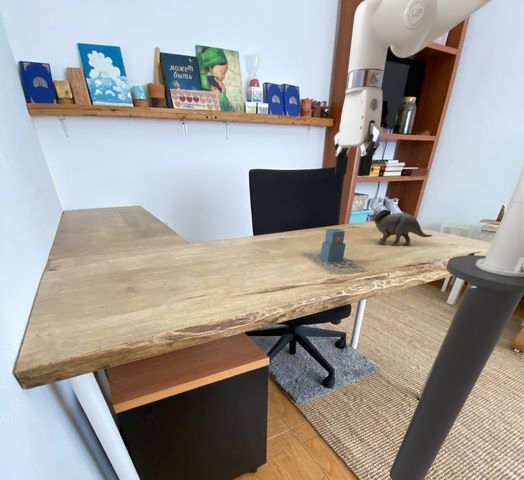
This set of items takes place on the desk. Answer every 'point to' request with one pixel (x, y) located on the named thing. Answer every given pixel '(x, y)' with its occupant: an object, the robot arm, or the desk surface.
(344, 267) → the rug
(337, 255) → the slate gray tower
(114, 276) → the desk surface
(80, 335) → the desk surface
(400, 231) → the toy dinosaur
